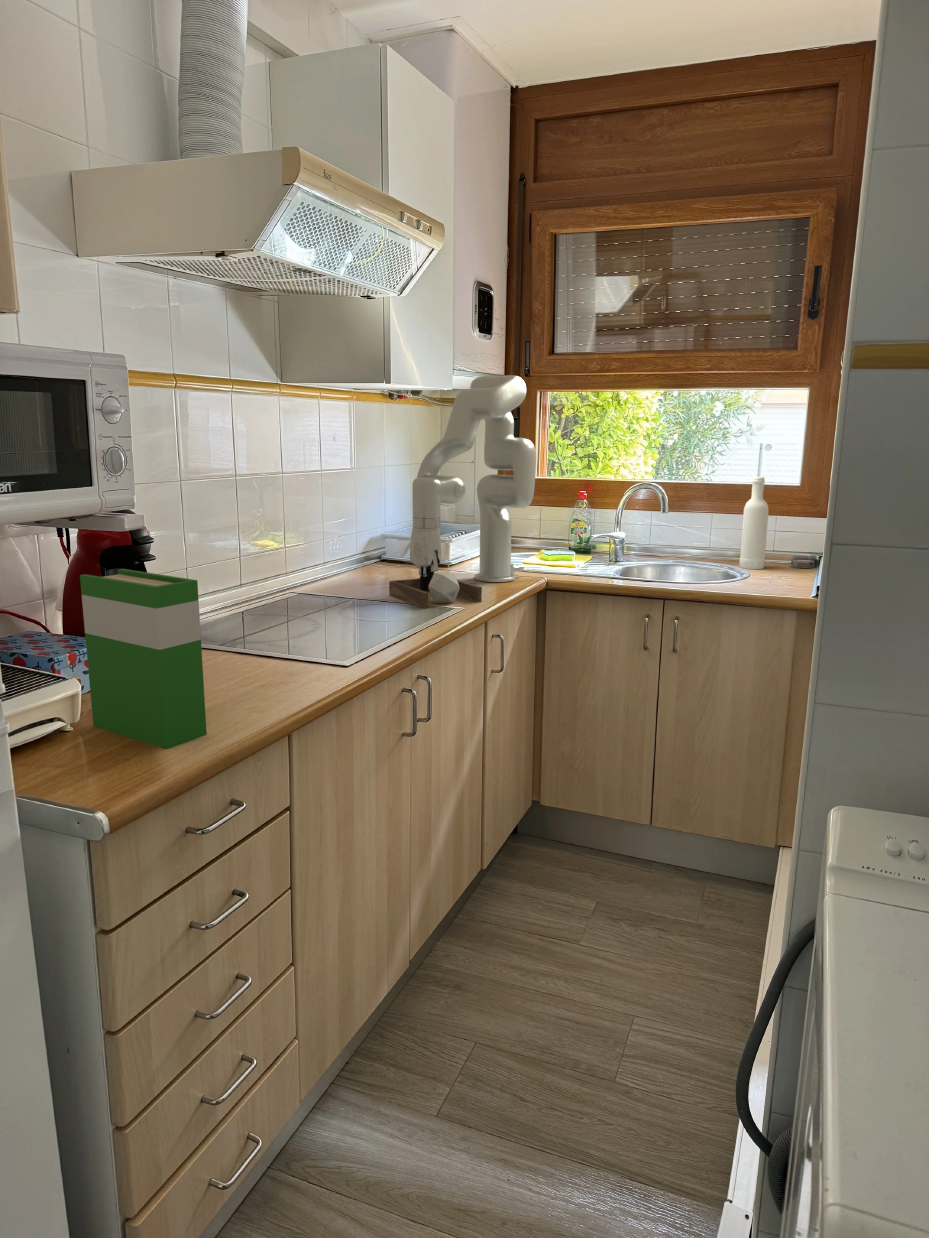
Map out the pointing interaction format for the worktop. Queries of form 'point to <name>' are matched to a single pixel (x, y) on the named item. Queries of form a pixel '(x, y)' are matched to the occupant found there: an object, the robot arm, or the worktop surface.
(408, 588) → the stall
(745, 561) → the bottle
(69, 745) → the worktop surface
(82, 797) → the worktop surface
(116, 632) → the hardback book
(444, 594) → the die
